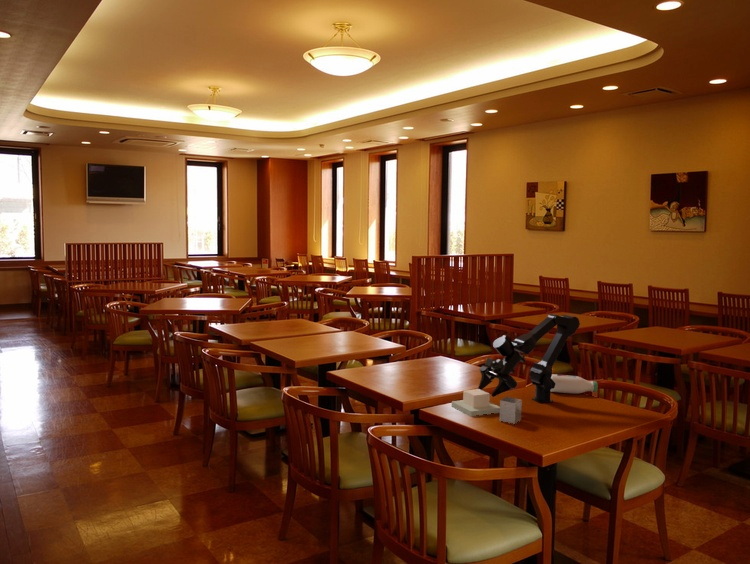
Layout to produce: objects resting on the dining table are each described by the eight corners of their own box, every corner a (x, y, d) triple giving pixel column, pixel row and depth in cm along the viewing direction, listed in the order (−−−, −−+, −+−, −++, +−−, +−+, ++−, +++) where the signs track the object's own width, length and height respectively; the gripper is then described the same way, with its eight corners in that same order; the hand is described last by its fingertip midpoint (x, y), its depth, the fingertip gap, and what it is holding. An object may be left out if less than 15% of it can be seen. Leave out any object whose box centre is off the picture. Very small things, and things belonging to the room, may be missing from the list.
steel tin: (505, 417, 233) (506, 396, 232) (520, 420, 229) (521, 399, 228) (499, 421, 228) (500, 400, 227) (514, 424, 224) (515, 403, 224)
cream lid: (478, 401, 246) (479, 388, 246) (489, 406, 240) (489, 393, 239) (463, 402, 243) (463, 390, 243) (473, 408, 237) (473, 395, 236)
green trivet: (480, 402, 251) (480, 398, 251) (501, 412, 238) (501, 407, 238) (451, 406, 245) (451, 401, 245) (471, 416, 233) (471, 411, 232)
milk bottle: (549, 395, 270) (595, 399, 267) (551, 384, 265) (599, 388, 262) (548, 381, 275) (593, 385, 273) (550, 370, 270) (597, 374, 267)
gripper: (483, 346, 252) (460, 375, 248) (512, 355, 235) (487, 386, 232) (499, 363, 256) (476, 391, 253) (527, 373, 239) (503, 404, 236)
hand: (485, 393), depth 243 cm, fingers open, 9 cm apart
